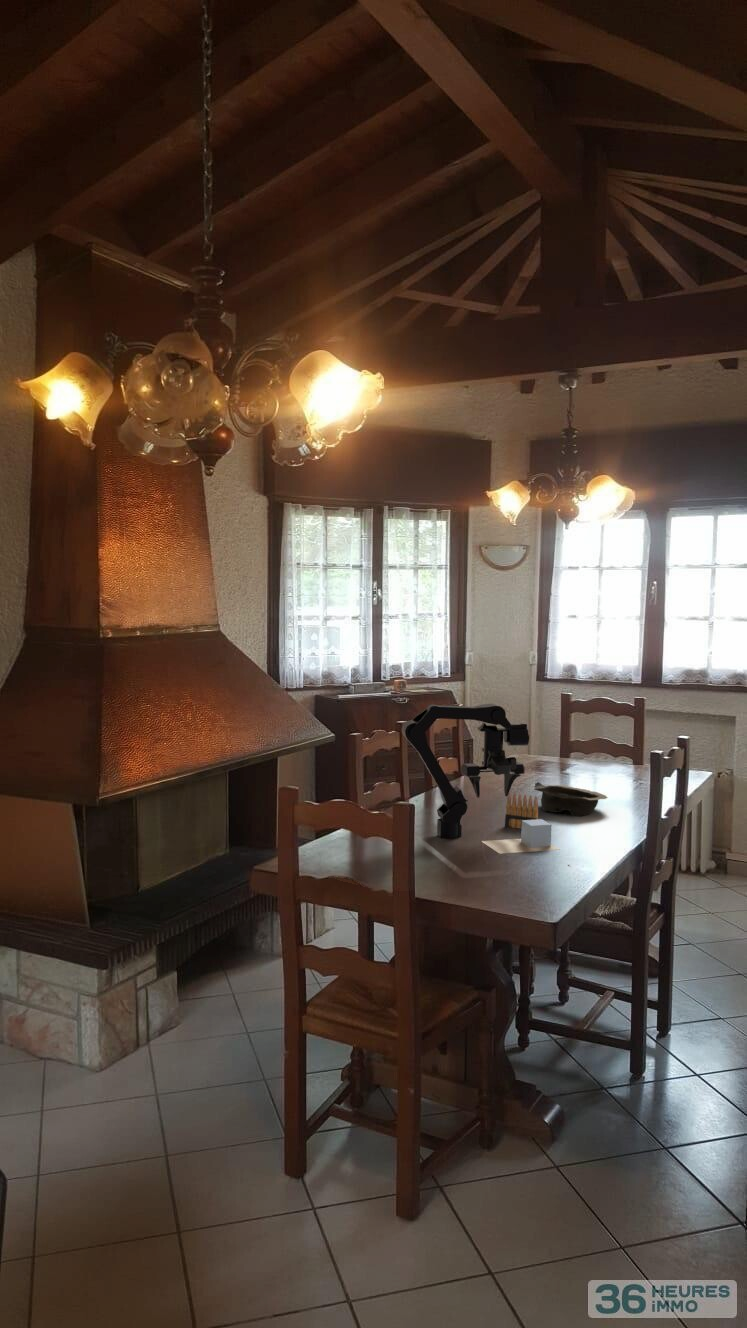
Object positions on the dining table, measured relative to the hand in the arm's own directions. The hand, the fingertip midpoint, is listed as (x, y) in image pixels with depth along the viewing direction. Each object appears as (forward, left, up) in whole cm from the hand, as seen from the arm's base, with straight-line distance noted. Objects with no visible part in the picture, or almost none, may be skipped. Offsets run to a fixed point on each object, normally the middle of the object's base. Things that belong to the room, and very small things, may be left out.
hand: (492, 796), depth 273 cm
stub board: (+4, -12, -13) cm, 18 cm away
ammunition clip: (+13, +6, -13) cm, 20 cm away
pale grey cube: (+9, -12, -12) cm, 19 cm away
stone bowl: (+42, +28, -13) cm, 52 cm away
